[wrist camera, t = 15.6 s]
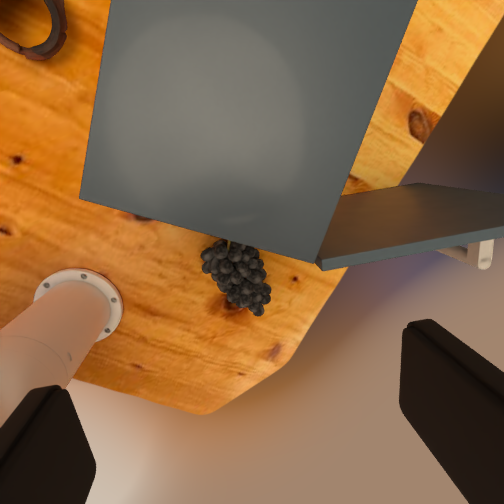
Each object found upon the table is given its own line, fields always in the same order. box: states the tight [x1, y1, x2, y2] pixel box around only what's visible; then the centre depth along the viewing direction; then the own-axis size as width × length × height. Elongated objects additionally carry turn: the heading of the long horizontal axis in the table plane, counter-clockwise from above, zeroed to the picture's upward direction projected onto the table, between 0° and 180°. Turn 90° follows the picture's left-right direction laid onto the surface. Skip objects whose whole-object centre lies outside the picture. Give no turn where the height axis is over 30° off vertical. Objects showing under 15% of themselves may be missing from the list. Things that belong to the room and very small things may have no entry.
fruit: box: [201, 240, 271, 316], centre depth 44 cm, size 9×8×15 cm
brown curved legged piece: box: [0, 0, 67, 60], centre depth 33 cm, size 12×10×8 cm
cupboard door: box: [314, 183, 504, 271], centre depth 36 cm, size 8×24×24 cm, turn 99°
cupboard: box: [79, 0, 418, 264], centre depth 30 cm, size 17×24×24 cm
